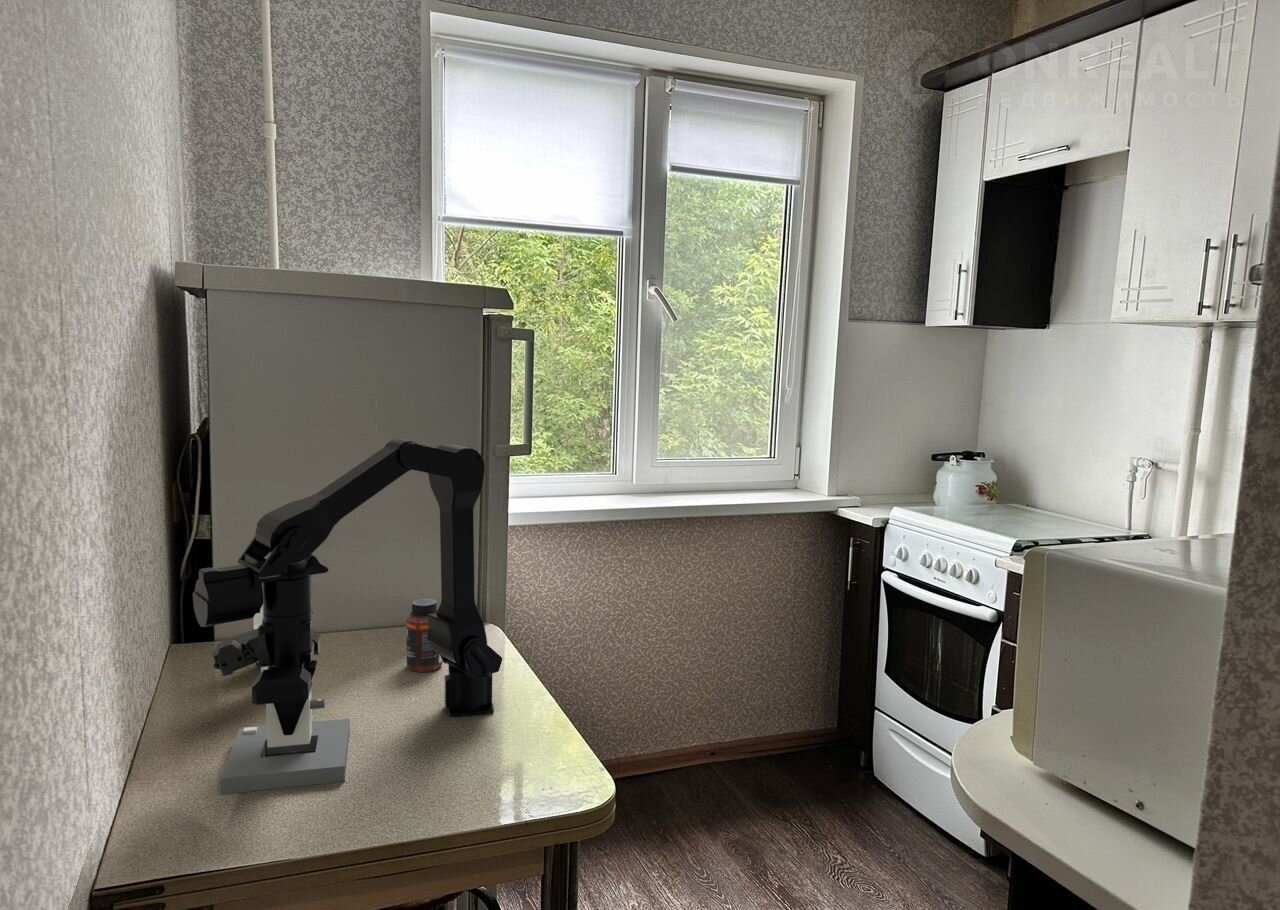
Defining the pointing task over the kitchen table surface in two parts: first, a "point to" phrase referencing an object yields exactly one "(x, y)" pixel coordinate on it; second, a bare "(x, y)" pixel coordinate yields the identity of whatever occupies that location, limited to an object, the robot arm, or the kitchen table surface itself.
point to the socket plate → (286, 759)
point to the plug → (302, 728)
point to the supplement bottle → (421, 637)
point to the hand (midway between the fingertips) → (290, 728)
